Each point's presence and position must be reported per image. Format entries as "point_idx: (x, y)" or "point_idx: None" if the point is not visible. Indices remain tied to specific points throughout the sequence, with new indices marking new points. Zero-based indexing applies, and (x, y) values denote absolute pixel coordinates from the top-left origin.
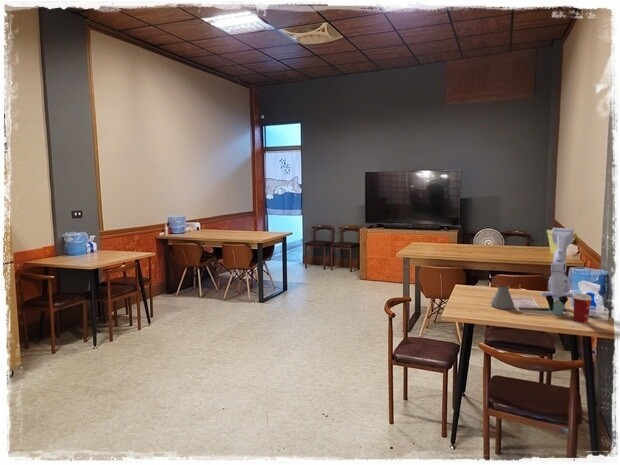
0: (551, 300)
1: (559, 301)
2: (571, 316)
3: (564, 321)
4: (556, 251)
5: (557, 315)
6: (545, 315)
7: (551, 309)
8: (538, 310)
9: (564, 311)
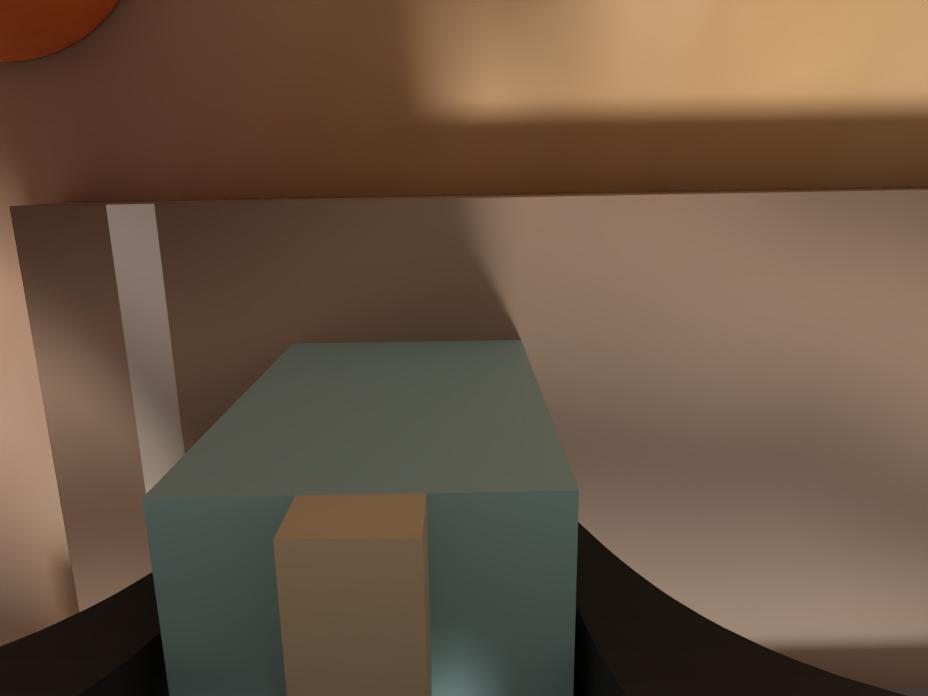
0: (758, 686)
1: (295, 652)
2: (81, 256)
3: (364, 27)
4: None
5: (449, 300)
6: (801, 247)
7: None
8: None
9: None
